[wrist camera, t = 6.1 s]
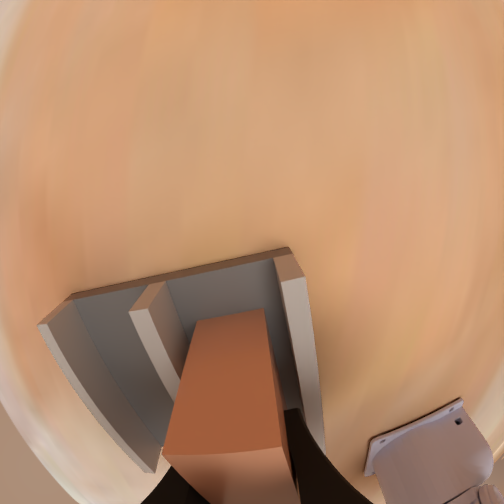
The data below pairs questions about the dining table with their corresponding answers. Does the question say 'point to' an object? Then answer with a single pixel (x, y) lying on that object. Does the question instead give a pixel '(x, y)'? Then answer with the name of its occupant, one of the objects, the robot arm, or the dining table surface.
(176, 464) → the terracotta tile
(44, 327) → the dish rack
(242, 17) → the dining table surface
